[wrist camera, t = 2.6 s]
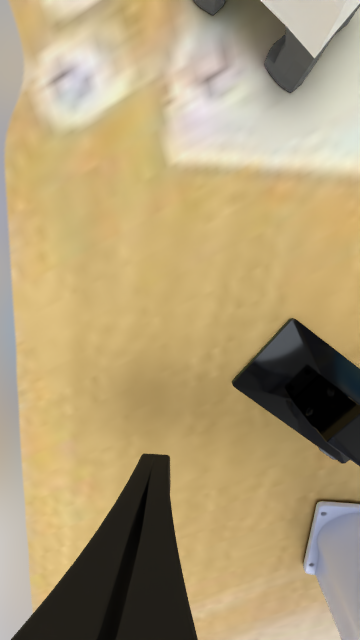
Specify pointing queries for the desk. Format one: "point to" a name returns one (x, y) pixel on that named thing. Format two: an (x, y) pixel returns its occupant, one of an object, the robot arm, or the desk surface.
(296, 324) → the build plate
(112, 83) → the desk surface
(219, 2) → the giant panda
